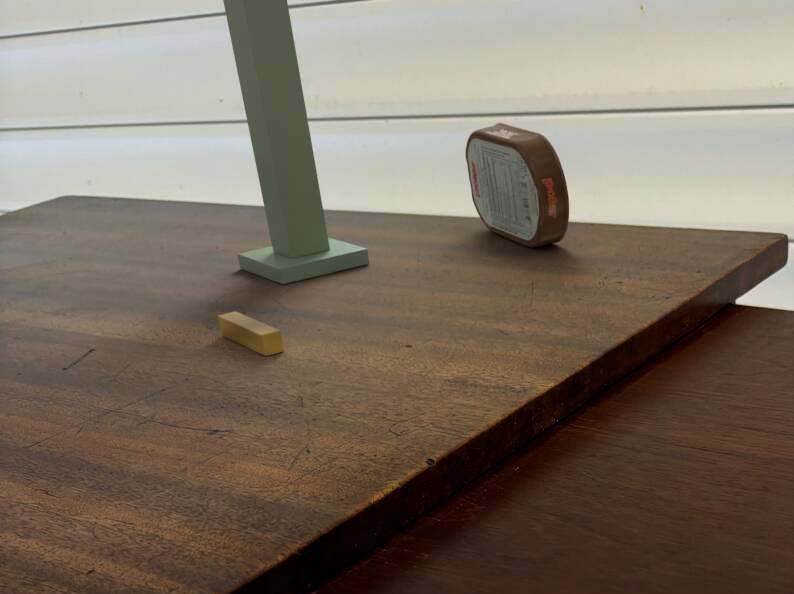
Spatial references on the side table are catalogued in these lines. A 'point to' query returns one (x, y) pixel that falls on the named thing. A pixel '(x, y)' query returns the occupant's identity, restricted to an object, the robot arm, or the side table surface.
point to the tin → (518, 184)
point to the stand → (282, 148)
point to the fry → (251, 333)
